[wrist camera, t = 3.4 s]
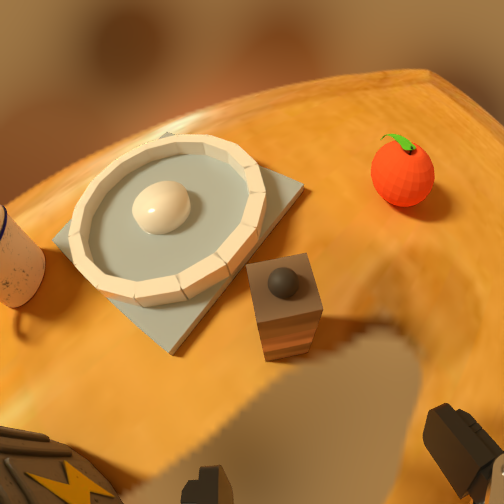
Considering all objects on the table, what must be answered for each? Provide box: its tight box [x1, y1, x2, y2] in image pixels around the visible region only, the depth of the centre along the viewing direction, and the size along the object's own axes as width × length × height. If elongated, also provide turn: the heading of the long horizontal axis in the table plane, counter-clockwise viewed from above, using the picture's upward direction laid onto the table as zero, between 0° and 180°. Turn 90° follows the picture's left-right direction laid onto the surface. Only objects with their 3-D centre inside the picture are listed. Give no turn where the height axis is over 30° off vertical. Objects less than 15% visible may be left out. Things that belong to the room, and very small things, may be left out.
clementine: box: [371, 134, 435, 207], centre depth 28 cm, size 8×7×7 cm
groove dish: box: [52, 132, 304, 356], centre depth 30 cm, size 21×21×3 cm
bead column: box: [246, 253, 323, 361], centre depth 19 cm, size 3×3×11 cm
